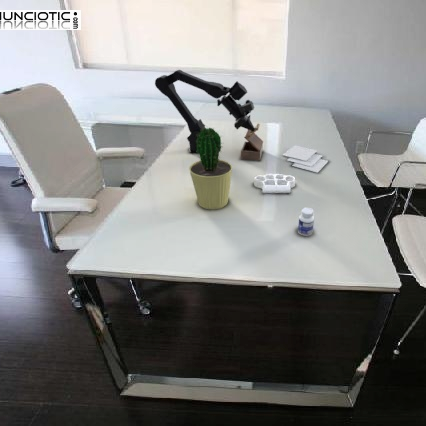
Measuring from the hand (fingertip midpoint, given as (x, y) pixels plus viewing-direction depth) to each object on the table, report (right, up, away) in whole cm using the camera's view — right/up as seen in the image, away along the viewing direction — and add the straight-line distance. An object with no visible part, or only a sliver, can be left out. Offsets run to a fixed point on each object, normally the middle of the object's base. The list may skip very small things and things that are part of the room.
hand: (254, 131), depth 158 cm
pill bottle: (+23, -48, -46) cm, 71 cm away
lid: (-1, -4, +3) cm, 5 cm away
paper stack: (+26, -13, +8) cm, 30 cm away
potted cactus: (-13, -37, -34) cm, 52 cm away
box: (-2, -11, +7) cm, 13 cm away
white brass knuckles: (+11, -30, -20) cm, 38 cm away
